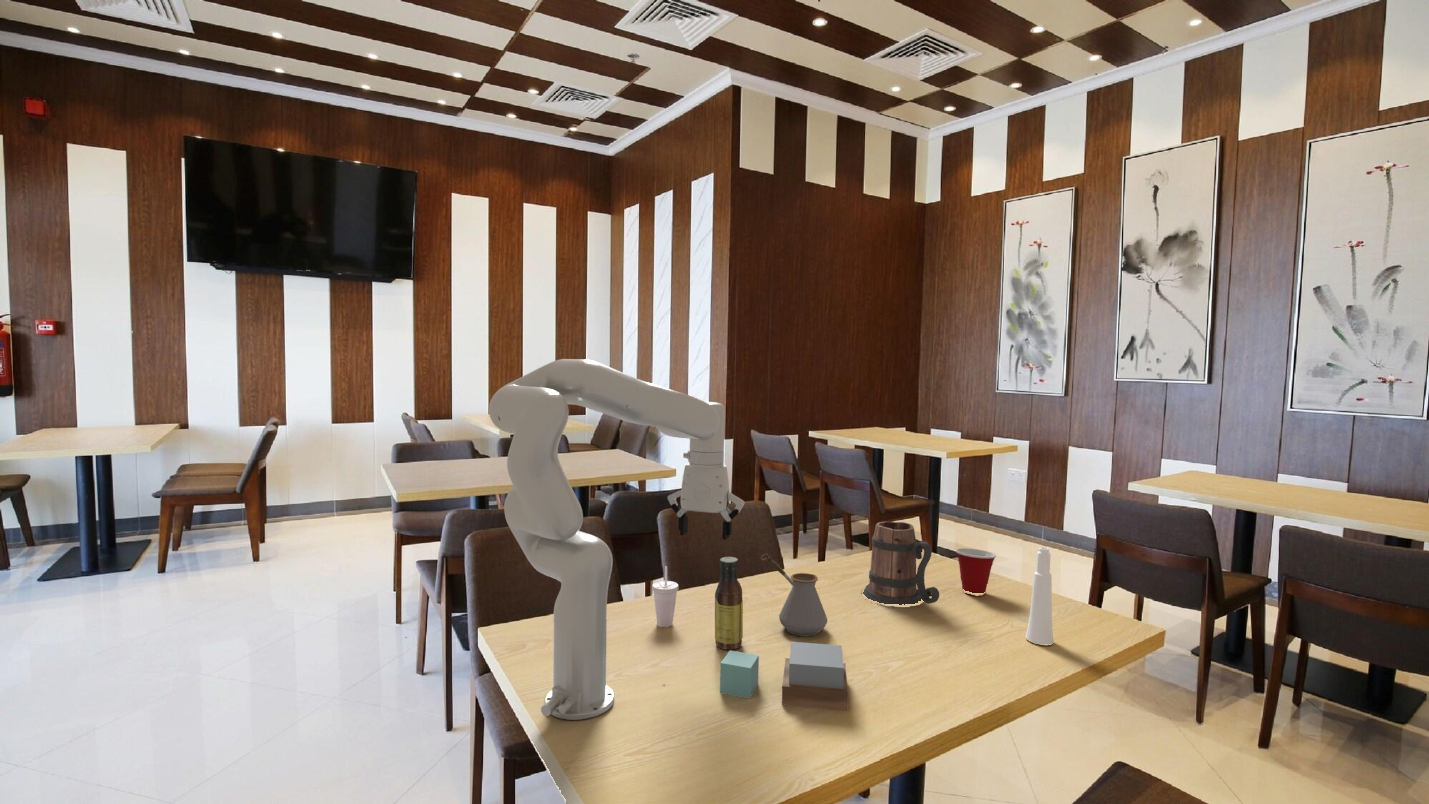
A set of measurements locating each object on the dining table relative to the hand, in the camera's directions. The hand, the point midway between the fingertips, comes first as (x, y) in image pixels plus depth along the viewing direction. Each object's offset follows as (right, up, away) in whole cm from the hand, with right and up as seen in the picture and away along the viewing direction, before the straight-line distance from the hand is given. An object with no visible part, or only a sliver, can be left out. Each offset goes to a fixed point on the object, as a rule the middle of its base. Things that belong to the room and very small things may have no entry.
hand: (704, 536), depth 146 cm
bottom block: (+22, -27, -17) cm, 39 cm away
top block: (+22, -23, -17) cm, 36 cm away
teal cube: (+7, -27, -16) cm, 32 cm away
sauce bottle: (+5, -25, +3) cm, 26 cm away
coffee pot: (+21, -25, +17) cm, 37 cm away
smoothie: (-10, -25, +15) cm, 30 cm away
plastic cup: (+75, -25, +42) cm, 90 cm away
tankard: (+53, -25, +35) cm, 68 cm away
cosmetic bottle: (+78, -27, +9) cm, 83 cm away
